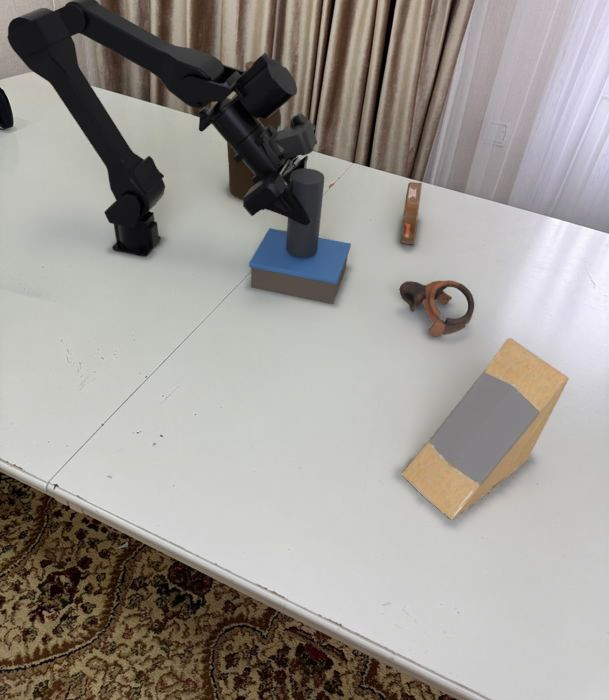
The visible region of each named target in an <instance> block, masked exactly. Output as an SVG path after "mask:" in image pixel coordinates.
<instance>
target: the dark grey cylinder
mask: <svg viewBox="0 0 609 700" xmlns="http://www.w3.org/2000/svg"><path fill="white" fill-rule="evenodd" d="M292 180H293V193H294V195H295V197H296V198H297V200H298V201H299V203H300V204H301V206H302V207H303V209H304V210H305V212H306V213H307V215H308V217H309V218H310V220H311V222H310V223H309V224H308V225H303V224H301V223H299V222H297V221H294V220H292V219H290V218H288V217H287V224H286V225H287V226H286V231H287V240H286V250H287V252H288V253H289V254H291V255H293V256H296V257H310V256H313V255H315V254H316V252H317V249H318V238H320V237H319V236H320V229H321V228H320V227H321V217H322V207H323V199H324V197H323V196H324V187H325V174H324V173H322V172H321V171H320V170H317V169H313V168H307V167H306V168H302V169H297V170H294V171H293V172H292V173H291V174H290V182H291V181H292Z"/></svg>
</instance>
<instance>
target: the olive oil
mask: <svg viewBox="0 0 609 700" xmlns="http://www.w3.org/2000/svg"><path fill="white" fill-rule="evenodd" d="M255 61H256V60H253V61H246V62H245V65H244V66H245V67H244V68H245V70H244V71H245V72H246V71H247V70H248V69H249V68H251V67H252V65H253V64H254V62H255ZM236 95H237V94H236V93H235V94H234V95H233V96H232V97H231V98H230V99H231V100H232V99H233V98H234V97H235V96H236ZM258 119H259V121H260V122H261V123H262V124H263V125H264V127H267V126H268V125H269V124H270V126H273V127H274V128H275V129H276V130H277V131H281V127H282V115H281V110H280V108H279V109H278V110H277V111H275V112H274V113H273V114H272V115H271V116H269V117H268V118H261V117H259V118H258ZM226 144H227V145H226V146H227V147H226V148H227V162H228V183H229V192H230V193H231V195H232V196H233V197H235V198H237V199H240V200H243V198H244V196H245V195H246V194H247V192H248V191H249V189H250V188H251V187H253V186H254V185H255V183H254V182H253V181H252V178H253V177H254V173H253V172H252V171H251V170H250V169H249V168H248V166H247V165H246V164H245V163H244V162H243V160H241V161H240V162H239V163H237V162H236V161H235V160H234V157H235V155H236V154H237V153H236V152H235V151H234V150H233V148H232V147H231V146H230V145H229V144H228V143H227V142H226Z"/></svg>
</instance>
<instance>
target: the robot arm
mask: <svg viewBox="0 0 609 700" xmlns="http://www.w3.org/2000/svg"><path fill="white" fill-rule="evenodd" d="M77 34H80V35H83V36H84V37H86V38H88V39H90V40H92V41H93V42H95V43H97V44H99V45H101V46H102V47H104V48H106V49H108V50H109V51H111V52H113V53H115V54H117V55H118V56H121V57H122V58H124V59H125V60H127V61H129V62H131V63H133V64H135V65H137V66H138V67H140V68H142V69H144V70H146V71H147V72H149V73H151V74H152V75H154V76H155V77H156V78H158V79H159V80H160V81H161V83H162V84H163V85H164V87H165V88H166V89H167V91H168V92H170V93H171V94H172V95H173V96H175V97H176V98H177V99H179V100H180V101H181V102H183V104H185V105H187V106H188V107H190V108H193V109H200V108H201V109H200V110H199V112H198V118H199V121H198V131H199V132H204V131H205V130H206V129H207V128H209V127H210V126H211V125H212V127H214V129H215V130H216V131H217V132H218V133H219V135H220V136H221V137H222V138H223V140H225V142H226V144H227V143H228V144H229V145H230V146H231V147H232V148H233V150H234V151H235V152H236V153H237V154H236V155H235V157H234V160H235V161H236V162H237V163H239V162H240V161H241V160H243V162H244V163H245V164H246V165H247V166H248V168H249V169H250V170H251V171H252V172H253V173H254V177H253V178H252V181H253V182H254V183H255V185H254V186H253V187H251V188H250V189H249V191H248V192H247V194H246V195H245V196H244V198H243V199H242V207H243V208H244V209H245V210H246V211H247V213H248V214H249V215H250V216H251V217H253V216H255V215H256V214H258V213H259V212H261V211H264V210H267V211H270V212H273V213H276V214H278V215H281V216H283V217H286V218H287V219H288V218H290V219H292V220H294V221H297V222H299V223H301V224H303V225H308V224H309V223H310V222H311V220H310V218H309V217H308V215H307V213H306V212H305V210H304V209H303V207H302V206H301V204H300V203H299V201H298V200H297V198H296V197H295V195H294V193H293V180H292V181H291V182H290V174H291V173H292V172H293V171H294V170H297V169H302V168H307V165H308V160H309V156H308V155H309V154H311V153H313V151H314V147H315V145H317V144H318V140H317V137H316V135H315V130H316V125H315V124H314V123H312V121H311V119H308V118H307V116H305V115H304V114H303V113H298V114H295V115H293V116H292V117H291V119H290V121H289V122H290V124H289V126H286V127H285V128H283V129H282V130H281V129H280V131H277V130H276V129H275V128H274V127H273V126H270V124H269V125H268V126H267V127H264V125H263V124H262V123H261V122H260V121H259V119H258V118H259V117H261V118H268V117H269V116H271V115H272V114H273V113H274V112H275V111H277V110H278V109H280V108H282V106H284V105H285V104H286V103H288V102H289V101H290V100H291V99H292V98H294V96H296V95H297V94H298V86H297V83H296V81H295V78H294V77H293V75H292V74H291V72H290V71H289V69H288V68H287V66H283V65H282V63H280V62H279V61H278V60H275V59H274V58H273V59H272V58H271V57H270V56H269V54H268V53H267V52H263V53H262V54H261V55H260V56H259V57H258V58H257V59H256V60H254V61H255V62H254V64H253V65H252V67H251V68H249V69H248V70H247V71H246V72H245V70H242V69H239V68H236V67H232V66H230V65H226V64H223V62H222V61H221V60H220V59H219V58H218V57H216V56H214V55H212V54H209V53H206V52H203V51H201V50H199V49H196V48H191V47H185V46H179V45H175V44H172V43H170V42H167V41H165V40H164V39H162V38H161V37H159V36H157V35H155V34H153V33H151V32H150V31H148V30H146V29H144V28H143V27H141V26H139V25H137V24H135V23H134V22H132V21H130V20H128V19H126V18H125V17H123V16H121V15H120V14H118V13H116V12H114V11H112V10H111V9H109V8H107V7H106V6H104V5H102V4H100V2H99V1H97V0H70V1H68V2H67V3H65V5H64V6H61V7H60V8H57V9H54V10H52V9H50V8H47V7H39V8H37V9H35V10H32V11H30V12H27V13H25V14H22V15H19V16H17V17H15V18H12V20H11V21H10V22H9V24H8V26H7V36H6V38H7V41H8V43H9V46H10V47H11V49H12V51H13V52H14V53H15V54H16V55H17V57H18V58H19V59H20V60H21V61H22V62H23V64H25V65H26V67H27V68H28V69H29V70H30V71H32V72H33V73H35V74H36V75H38V76H39V77H41V78H42V79H44V80H45V81H47V82H48V83H49V84H50V85H51V86H52V88H53V89H54V91H55V92H56V94H57V96H58V97H59V99H60V100H61V101H62V103H63V104H64V106H65V108H66V109H67V110H68V112H69V114H70V115H71V117H72V118H73V120H74V121H75V123H76V124H77V125H78V127H79V128H80V130H81V131H82V133H83V135H84V136H85V138H86V139H87V141H88V142H89V144H90V145H91V147H92V148H93V149H94V150H95V152H96V154H97V155H98V157H99V158H100V160H101V162H102V163H103V164H104V166H105V168H106V170H107V177H108V183H109V189H110V190H111V193H112V195H113V197H114V199H115V201H113V202H112V204H110V206H108V208H106V209H105V210H104V212H103V213H104V215H105V217H106V219H107V222H108V223H109V224H112V225H113V228H114V235H115V243H114V244H113V246H112V247H111V248H112V251H115V252H120V253H125V254H130V255H134V256H140V257H148V255H150V253H151V252H152V251H153V249H154V248H155V247H156V246H157V245H158V244H159V242H160V241H161V239H162V238H161V236H160V235H159V227H158V221H155V213H154V212H153V211H151V210H152V209H153V208H154V207H155V206H156V205H157V203H159V201H160V200H161V199H162V198H163V196H164V194H165V189H166V184H165V181H164V179H163V178H164V177H165V175H164V174H163V173H162V172H161V171H160V170H159V168H158V167H157V165H156V162H155V161H154V159H153V158H152V156H150V155H148V156H147V157H145V158H143V157H141V156H139V155H138V154H136V153H135V152H134V151H133V150H132V148H131V147H130V145H129V144H128V142H127V141H126V139H125V137H124V136H123V135H122V133H121V131H120V130H119V128H118V126H117V125H116V123H115V121H114V120H113V119H112V117H111V116H110V113H109V112H108V110H107V109H106V108H105V106H104V104H103V103H102V101H101V100H100V97H98V95H97V93H96V92H95V91H94V89H93V87H92V86H91V84H90V82H89V81H88V79H87V78H86V76H85V75H84V73H83V71H82V69H81V68H80V66H79V62H78V57H77V55H78V54H77V50H76V44H75V41H74V39H73V36H74V35H77ZM233 92H234V93H235V94H237V95H236V96H235V97H234V98H233V99H232V98H228V97H229V96H231V94H233ZM231 99H232V100H231ZM215 102H216V103H215ZM210 103H214V105H212V106H211V107H207V106H208V105H209V104H210ZM299 156H302V157H303V156H304V157H303V158H300V157H299Z"/></svg>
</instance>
